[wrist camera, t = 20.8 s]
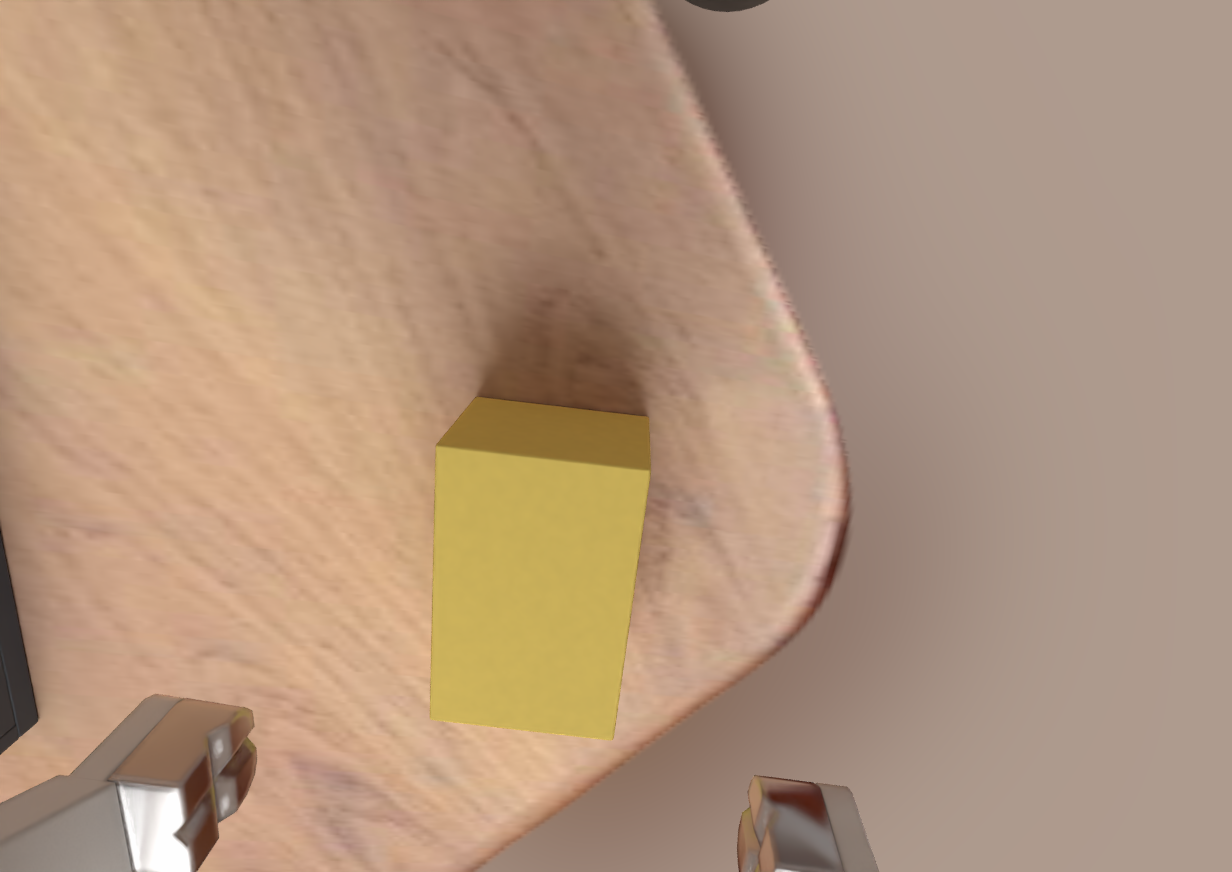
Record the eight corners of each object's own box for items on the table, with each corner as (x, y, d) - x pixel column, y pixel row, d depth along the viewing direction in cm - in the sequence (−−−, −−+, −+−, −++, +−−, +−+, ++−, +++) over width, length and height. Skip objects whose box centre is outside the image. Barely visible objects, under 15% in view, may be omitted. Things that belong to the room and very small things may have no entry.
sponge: (475, 396, 19) (434, 444, 15) (649, 416, 19) (651, 469, 15) (465, 630, 22) (428, 720, 18) (617, 648, 22) (613, 741, 18)
